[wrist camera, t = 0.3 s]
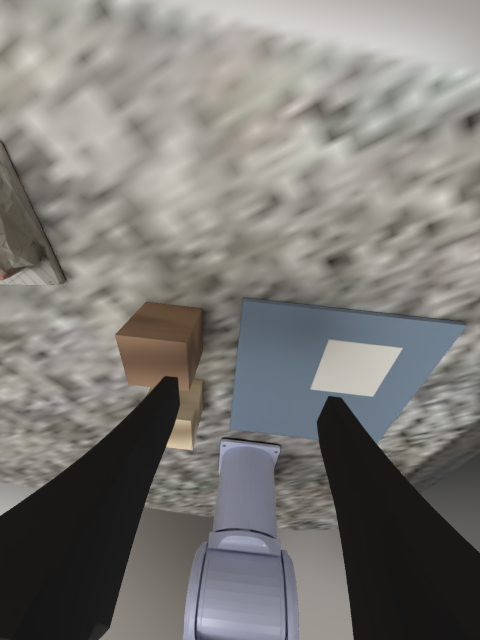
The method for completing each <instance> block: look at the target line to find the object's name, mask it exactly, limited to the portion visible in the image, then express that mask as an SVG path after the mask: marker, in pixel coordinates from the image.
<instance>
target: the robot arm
mask: <svg viewBox="0 0 480 640" xmlns="http://www.w3.org/2000/svg"><path fill="white" fill-rule="evenodd" d="M179 407H180V396H179V384H178V377H171V376H164V377H163V378H162V379H161V381H160V382H159V383H158V384H157V385H156V386H155V387H154V389H153V390H152V391H151V392H150V393H149V394H148V395H147V396H146V397H145V398H144V400H143V401H142V402H141V403H140V404H139V405H138V406H137V407H136V408H135V409H134V410H133V411H132V412H131V413H130V414H129V415H128V416H127V417H126V418H125V419H124V420H123V421H122V422H121V423H120V424H119V425H117V426H116V427H115V428H114V429H113V430H112V431H111V432H110V433H109V434H108V435H107V436H106V437H105V438H103V439H102V440H101V441H100V442H99V443H98V444H97V445H95V446H94V447H93V448H92V449H91V450H89V451H88V452H87V453H86V454H85V455H83V456H82V457H81V458H80V459H78V460H77V461H76V462H75V463H73V464H72V465H71V466H69V467H68V468H67V469H66V470H64V471H63V472H62V473H60V474H59V475H58V476H56V477H55V478H54V479H52V480H51V481H50V482H48V483H47V484H45V485H44V486H43V487H41V488H40V489H38V490H37V491H36V492H34V493H33V494H31V495H30V496H29V497H27V498H26V499H24V500H23V501H21V502H20V503H19V504H17V505H16V506H14V507H13V508H11V509H10V510H9V511H7V512H5V513H4V514H3V515H1V516H0V640H99V639H100V638H101V637H102V636H103V635H104V634H105V633H106V631H107V630H108V629H109V628H110V625H111V621H112V617H113V613H114V609H115V605H116V602H117V598H118V595H119V590H120V587H121V583H122V580H123V576H124V573H125V569H126V566H127V562H128V559H129V555H130V551H131V548H132V544H133V541H134V538H135V534H136V531H137V528H138V524H139V521H140V518H141V514H142V511H143V508H144V505H145V502H146V498H147V495H148V492H149V489H150V486H151V483H152V481H153V478H154V475H155V473H156V470H157V468H158V465H159V463H160V460H161V458H162V455H163V453H164V450H165V448H166V445H167V443H168V440H169V438H170V435H171V433H172V430H173V428H174V425H175V422H176V418H177V415H178V411H179ZM317 430H318V438H319V444H320V449H321V453H322V457H323V461H324V465H325V469H326V473H327V476H328V480H329V484H330V488H331V492H332V496H333V500H334V504H335V509H336V514H337V520H338V526H339V532H340V537H341V544H342V550H343V557H344V563H345V570H346V578H347V585H348V593H349V600H350V608H351V617H352V627H353V636H354V640H480V553H479V552H478V551H477V550H476V549H475V548H474V547H473V546H472V545H471V544H470V543H469V542H467V541H466V540H465V539H464V538H463V537H462V536H461V535H460V534H459V533H458V532H457V531H456V530H455V529H454V528H453V527H452V526H451V525H450V524H449V523H448V522H447V521H446V520H445V519H444V518H443V517H442V516H441V515H440V514H439V513H437V511H436V510H435V509H434V508H432V506H431V505H430V504H429V503H428V502H427V501H426V500H425V499H424V498H423V497H422V496H421V495H420V494H419V493H418V491H417V490H416V489H415V488H414V487H413V486H412V485H411V484H410V483H409V482H408V481H407V480H406V478H405V477H404V476H403V475H402V474H401V473H400V472H399V470H398V469H397V468H396V467H395V466H394V465H393V463H392V462H391V461H390V460H389V459H388V458H387V456H386V455H385V454H384V453H383V451H382V450H381V449H380V448H379V446H378V445H377V444H376V443H375V441H374V440H373V439H372V438H371V436H370V435H369V434H368V432H367V431H366V430H365V428H364V427H363V426H362V424H361V423H360V422H359V420H358V419H357V418H356V416H355V415H354V414H353V412H352V411H351V410H350V408H349V407H348V406H347V404H346V403H345V402H344V400H343V399H342V398H341V397H334V396H328V398H327V400H326V402H325V404H324V407H323V409H322V411H321V413H320V415H319V417H318V420H317ZM279 453H280V446H278V445H271V444H262V443H254V442H246V441H238V440H230V439H222V440H221V446H220V460H219V474H220V479H219V487H218V494H217V502H216V509H215V517H214V525H213V531H212V532H210V535H209V541H208V542H203V543H202V544H201V546H200V547H199V548H198V549H197V551H196V554H195V557H194V561H193V565H192V570H191V574H190V580H189V586H188V592H187V599H186V607H185V619H184V636H183V640H299V612H298V597H297V587H296V579H295V572H294V566H293V562H292V559H291V558H290V556H289V555H288V553H287V551H286V550H281V546H280V539H277V522H276V502H275V482H274V467H275V464H276V462H277V459H278V456H279Z"/></svg>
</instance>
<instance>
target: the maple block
mask: <svg viewBox="0 0 480 640" xmlns="http://www.w3.org/2000/svg"><path fill="white" fill-rule="evenodd" d="M153 389H154V387H151V388H150V390H149V392H148V394H149V393H150V392H151V391H152V390H153ZM148 394H147V395H148ZM179 396H180V407H179V411H178V415H177V418H176V422H175V425H174V428H173V430H172V433H171V435H170V438H169V440H168V443H167V445H166V447H171V448H179V449H187V450H193V446H194V442H195V438H196V434H197V430H198V426H199V422H200V418H201V414H202V410H203V380H199V379H193V382H192V385H191V388H190V391H181V390H179Z"/></svg>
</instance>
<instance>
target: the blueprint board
mask: <svg viewBox="0 0 480 640" xmlns="http://www.w3.org/2000/svg"><path fill="white" fill-rule="evenodd" d="M466 326H467V325H465V324H464V323H462V322H460V321H450V320H441V319H432V318H423V317H414V316H405V315H396V314H387V313H378V312H369V311H360V310H351V309H342V308H333V307H323V306H314V305H305V304H296V303H287V302H278V301H269V300H260V299H251V298H243V304H242V314H241V324H240V333H239V343H238V353H237V363H236V372H235V382H234V392H233V401H232V411H231V421H230V429H234V430H242V431H250V432H259V433H267V434H275V435H283V436H292V437H300V438H308V439H316V440H319V438H318V430H317V420H318V417H319V415H320V413H321V411H322V409H323V407H324V404H325V402H326V400H327V398H328V396H334V397H341V398H342V399H343V400H344V402H345V403H346V404H347V406H348V407H349V408H350V410H351V411H352V412H353V414H354V415H355V416H356V418H357V419H358V420H359V422H360V423H361V424H362V426H363V427H364V428H365V430H366V431H367V432H368V434H369V435H370V436H371V438H372V439H373V440H374V441H375V443H376V444H377V443H378V441H379V440H380V439H381V437H382V436H383V435H384V434H385V432H386V431H387V430H388V428H389V427H390V426H391V424H392V423H393V422H394V420H395V419H396V418H397V417H398V415H399V414H400V413H401V411H402V410H403V409H404V407H405V406H406V405H407V403H408V402H409V401H410V400H411V398H412V397H413V396H414V394H415V393H416V392H417V390H418V389H419V388H420V386H421V385H422V384H423V383H424V381H425V380H426V379H427V377H428V376H429V375H430V373H431V372H432V371H433V369H434V368H435V367H436V366H437V364H438V363H439V362H440V360H441V359H442V358H443V356H444V355H445V354H446V352H447V351H448V350H449V349H450V347H451V346H452V345H453V343H454V342H455V341H456V339H457V338H458V337H459V335H460V334H461V333H462V332H463V330H464V329H465V328H466Z"/></svg>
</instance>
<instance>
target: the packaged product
mask: <svg viewBox="0 0 480 640" xmlns="http://www.w3.org/2000/svg"><path fill="white" fill-rule="evenodd" d="M64 282H65V278H64V276H63V273H62V271H61V269H60V267H59V265H58V262H57V260H56V258H55V256H54V254H53V251H52V249H51V247H50V245H49V243H48V240H47V238H46V236H45V234H44V232H43V230H42V227H41V225H40V223H39V221H38V219H37V217H36V215H35V213H34V211H33V209H32V207H31V205H30V202H29V200H28V198H27V196H26V193H25V191H24V189H23V187H22V185H21V183H20V181H19V178H18V176H17V174H16V172H15V170H14V168H13V166H12V164H11V162H10V159H9V157H8V155H7V153H6V151H5V149H4V147H3V145H2V143H1V141H0V284H28V285H60V284H64Z"/></svg>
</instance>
